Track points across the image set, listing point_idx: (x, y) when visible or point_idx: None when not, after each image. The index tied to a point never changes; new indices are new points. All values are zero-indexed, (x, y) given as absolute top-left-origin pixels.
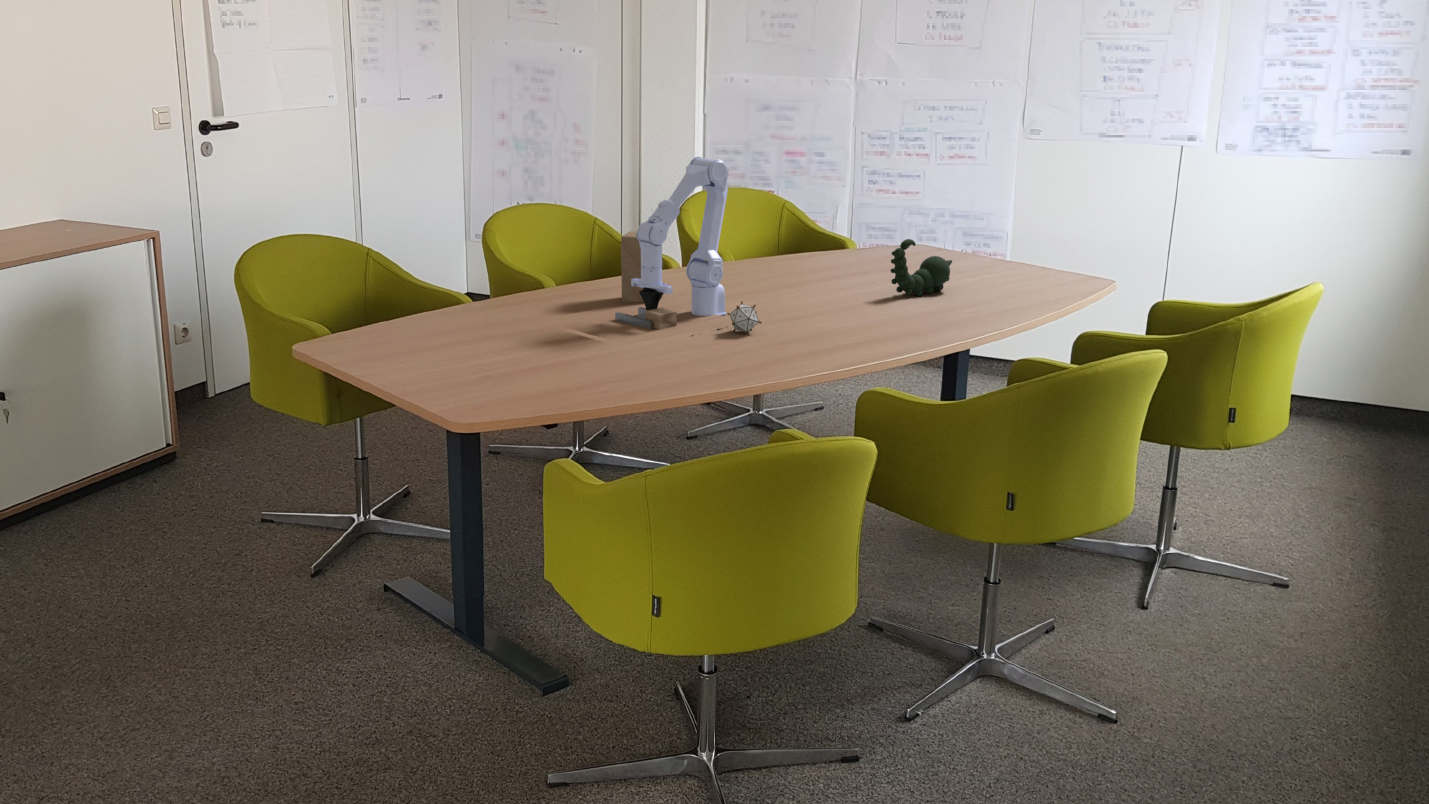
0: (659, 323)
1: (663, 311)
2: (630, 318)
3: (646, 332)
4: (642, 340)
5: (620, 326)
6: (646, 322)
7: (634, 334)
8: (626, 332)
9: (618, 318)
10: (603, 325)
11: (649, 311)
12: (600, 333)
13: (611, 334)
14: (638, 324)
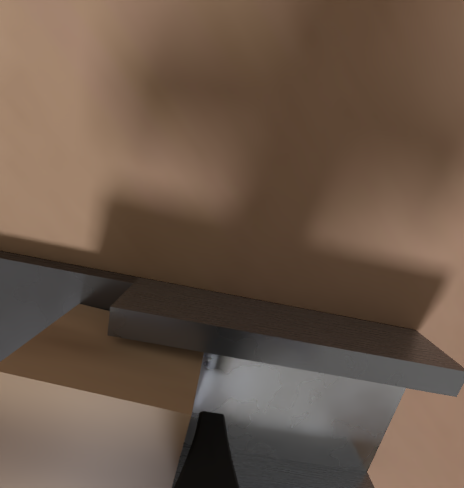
0: (54, 326)
1: (63, 471)
2: (311, 335)
3: (146, 256)
4: (26, 72)
5: (349, 283)
6: (151, 306)
7: (171, 176)
8: (241, 189)
9: (412, 344)
10: (450, 248)
11: (148, 415)
12: (373, 62)
13: (293, 85)
14: (233, 308)
